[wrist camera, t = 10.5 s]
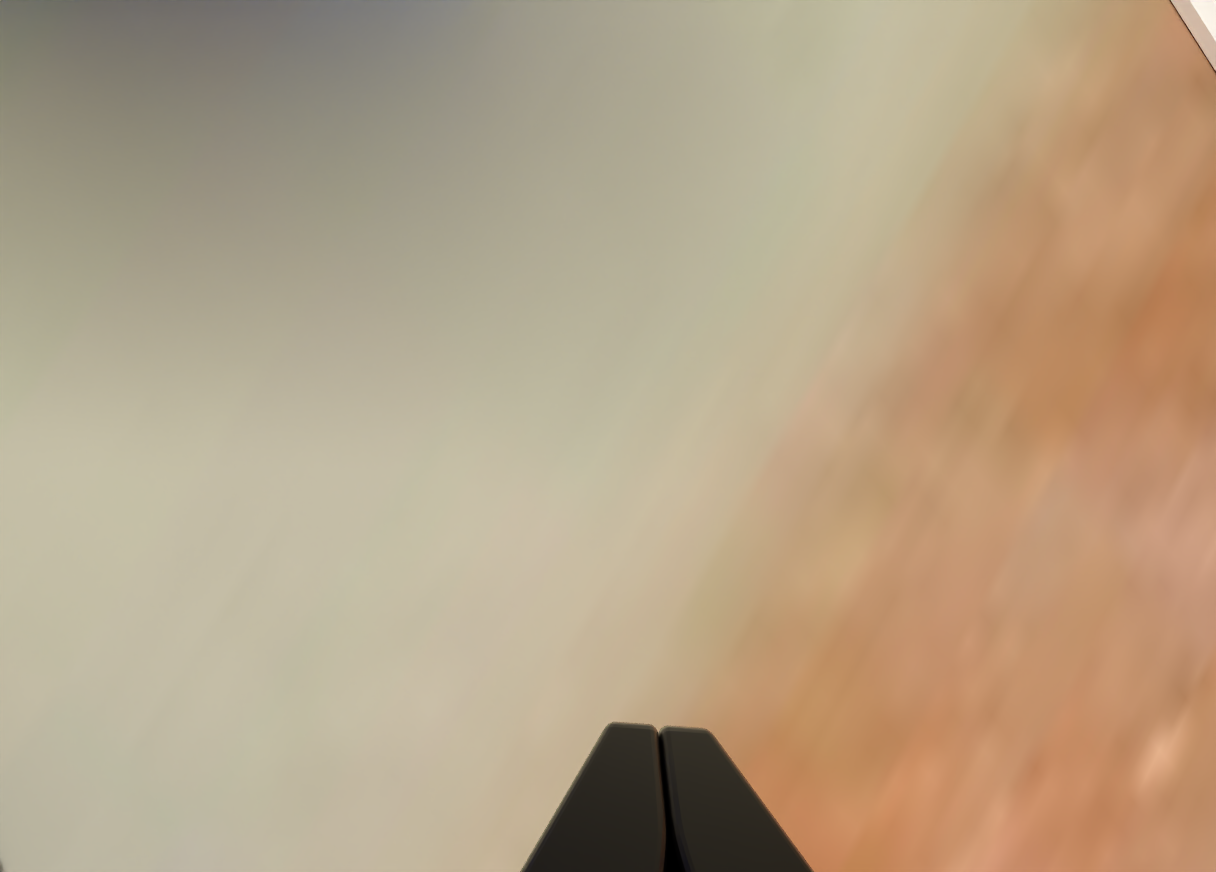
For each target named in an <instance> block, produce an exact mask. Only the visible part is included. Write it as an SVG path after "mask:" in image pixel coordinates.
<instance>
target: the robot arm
mask: <svg viewBox="0 0 1216 872" xmlns="http://www.w3.org/2000/svg"><path fill="white" fill-rule="evenodd" d="M520 872H814V871H813V870H812V868H811V867H810V866H809V864H808V863H807V862H806V860H805V859H804V857H803V856H802V855H801V853H800V852H799V851H798V849H797V848H796V847H795V845H794V844H793V843H792V841H791V840H790V838H789V837H788V836H787V834H786V833H785V832H784V830H783V829H782V828H781V826H780V825H779V823H778V822H777V821H776V819H775V818H774V817H773V815H772V814H771V813H770V811H769V810H768V809H767V807H766V806H765V804H764V803H763V802H762V800H761V799H760V798H759V796H758V795H757V794H756V792H755V791H754V789H753V788H752V787H751V785H750V784H749V783H748V781H747V780H746V779H745V777H744V776H743V775H742V773H741V772H740V770H739V769H738V768H737V766H736V765H735V764H734V762H733V761H732V760H731V758H730V757H729V755H728V754H727V753H726V751H725V750H724V749H723V747H722V746H721V745H720V743H719V742H718V741H717V739H716V738H715V736H714V735H713V734H712V733H711V732H710V731H708V730H707V729H704V728H695V727H680V726H664V727H663V728H661V730H660V731H659V733H658V732H657V730H656V728H655V727H654V726H653V725H650V724H638V723H624V722H612V723H610V724H608V725H607V726H606V727H605V729H604V730H603V732H602V734H601V735H600V737H599V739H598V740H597V742H596V744H595V746H594V747H593V749H592V751H591V752H590V754H589V756H588V757H587V759H586V761H585V763H584V764H583V766H582V768H581V769H580V771H579V773H578V774H577V776H576V778H575V780H574V781H573V783H572V785H571V786H570V788H569V790H568V791H567V793H566V795H565V797H564V798H563V800H562V802H561V803H560V805H559V807H558V808H557V810H556V812H555V814H554V815H553V817H552V819H551V820H550V822H549V824H548V825H547V827H546V829H545V831H544V832H543V834H542V836H541V837H540V839H539V841H538V842H537V844H536V846H535V848H534V849H533V851H532V853H531V854H530V856H529V858H528V859H527V861H526V863H525V865H524V866H523V868H522V870H521V871H520Z"/></svg>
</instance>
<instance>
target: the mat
mask: <svg viewBox="0 0 1216 872" xmlns="http://www.w3.org/2000/svg"><path fill="white" fill-rule="evenodd" d="M1171 1H1172V3H1173V5H1174V6H1175V8H1176V9H1177V11H1178V12H1179V14H1180V16H1181V17H1182V19H1183V20H1184V22H1185V24H1186V25H1187V27H1188V28H1189V30H1190V31H1191V33H1192V35H1193V36H1194V38H1195V39H1196V41H1197V42H1198V44H1199V46H1200V47H1201V49H1202V50H1203V52H1204V53H1205V55H1206V57H1207V58H1208V60H1209V61H1210V63H1211V64H1212V66H1213V68H1214V69H1215V71H1216V0H1171Z"/></svg>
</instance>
